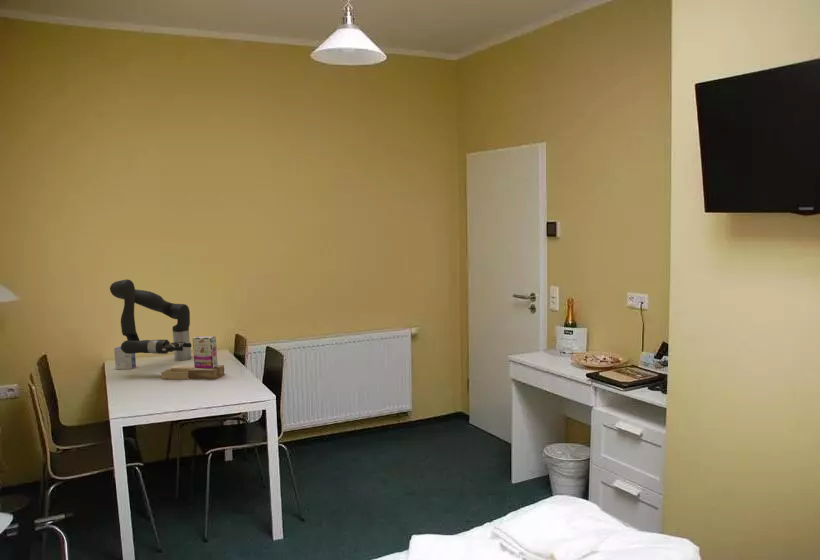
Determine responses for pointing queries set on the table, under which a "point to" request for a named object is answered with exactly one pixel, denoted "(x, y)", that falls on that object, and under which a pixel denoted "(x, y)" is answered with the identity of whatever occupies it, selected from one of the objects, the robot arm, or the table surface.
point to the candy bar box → (205, 352)
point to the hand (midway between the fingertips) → (186, 346)
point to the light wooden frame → (177, 372)
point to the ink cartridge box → (124, 359)
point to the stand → (206, 372)
